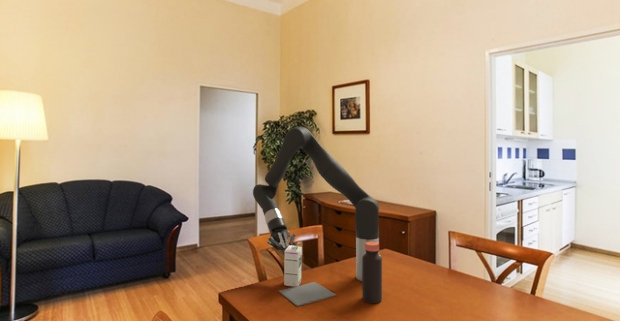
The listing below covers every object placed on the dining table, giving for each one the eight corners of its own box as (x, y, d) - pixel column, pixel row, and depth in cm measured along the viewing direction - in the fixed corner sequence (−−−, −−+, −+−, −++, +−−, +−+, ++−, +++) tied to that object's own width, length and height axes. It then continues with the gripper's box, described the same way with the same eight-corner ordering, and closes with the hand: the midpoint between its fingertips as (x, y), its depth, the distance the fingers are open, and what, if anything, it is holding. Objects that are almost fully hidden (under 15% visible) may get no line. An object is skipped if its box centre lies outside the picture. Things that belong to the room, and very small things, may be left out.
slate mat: (314, 283, 134) (314, 281, 134) (335, 295, 122) (335, 294, 122) (278, 292, 125) (278, 290, 125) (297, 306, 113) (297, 305, 113)
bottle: (370, 305, 114) (370, 247, 114) (358, 297, 120) (358, 242, 120) (385, 301, 117) (385, 244, 117) (373, 294, 123) (373, 240, 123)
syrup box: (298, 287, 130) (299, 251, 128) (283, 285, 131) (284, 249, 129) (301, 280, 135) (302, 246, 133) (287, 278, 136) (288, 244, 135)
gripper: (263, 218, 140) (276, 255, 130) (291, 215, 147) (305, 249, 137) (258, 228, 145) (270, 264, 134) (286, 225, 152) (299, 259, 141)
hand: (288, 257), depth 136 cm, fingers closed
